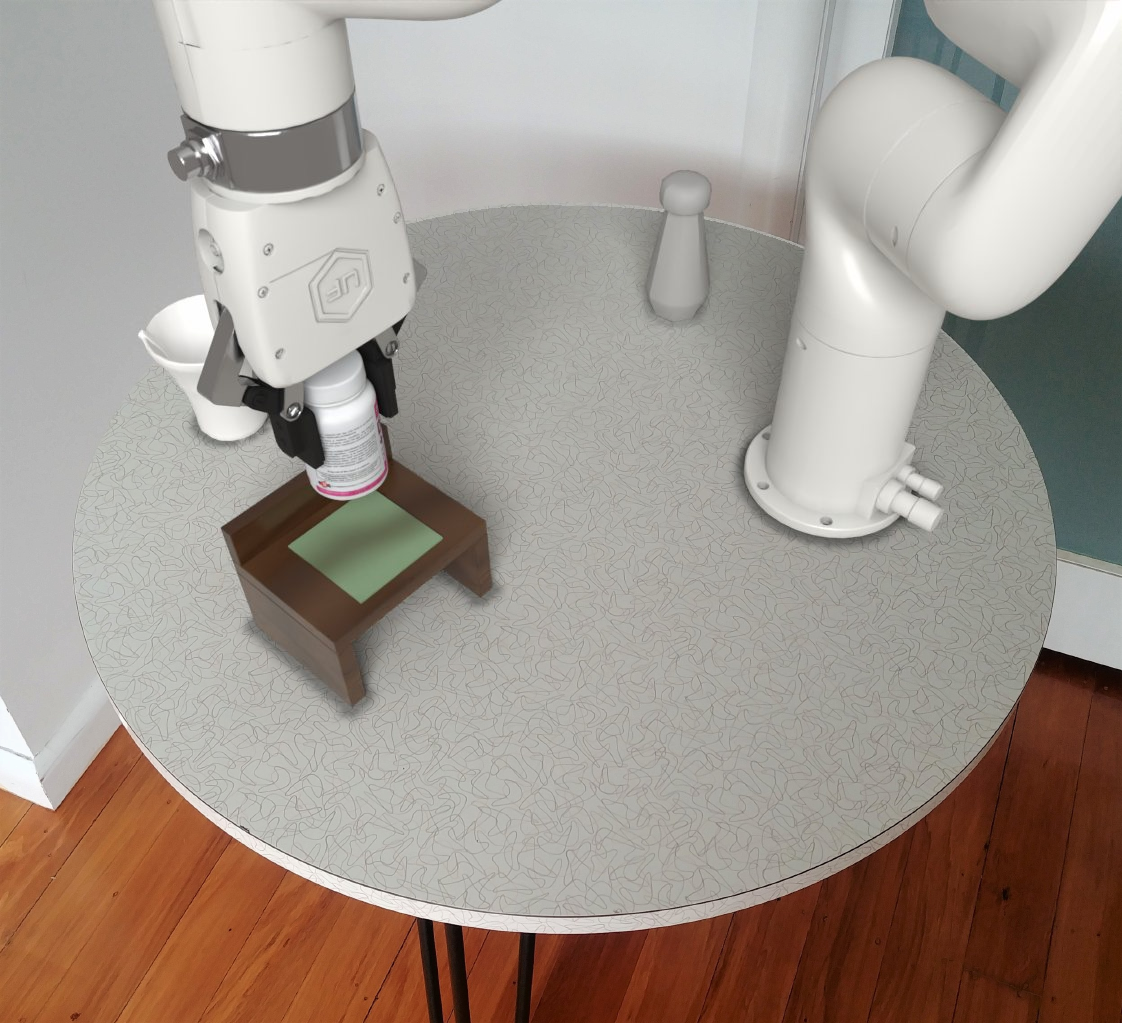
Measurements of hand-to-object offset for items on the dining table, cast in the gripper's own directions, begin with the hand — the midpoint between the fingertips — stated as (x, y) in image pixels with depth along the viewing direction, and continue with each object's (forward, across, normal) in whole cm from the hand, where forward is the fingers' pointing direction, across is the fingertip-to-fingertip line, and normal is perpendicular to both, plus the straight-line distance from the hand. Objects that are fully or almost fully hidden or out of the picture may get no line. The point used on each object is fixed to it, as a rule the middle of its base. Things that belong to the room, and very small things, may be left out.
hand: (340, 428), depth 61 cm
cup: (+17, +5, +24) cm, 30 cm away
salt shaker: (+17, +41, +6) cm, 45 cm away
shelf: (+17, 0, 0) cm, 17 cm away
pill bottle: (+4, 0, 0) cm, 4 cm away
